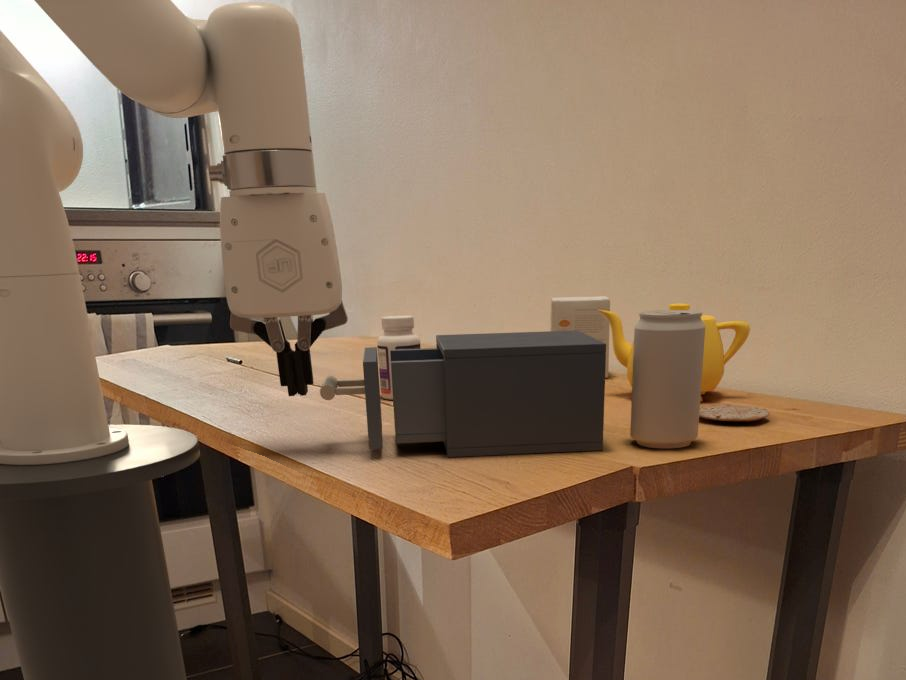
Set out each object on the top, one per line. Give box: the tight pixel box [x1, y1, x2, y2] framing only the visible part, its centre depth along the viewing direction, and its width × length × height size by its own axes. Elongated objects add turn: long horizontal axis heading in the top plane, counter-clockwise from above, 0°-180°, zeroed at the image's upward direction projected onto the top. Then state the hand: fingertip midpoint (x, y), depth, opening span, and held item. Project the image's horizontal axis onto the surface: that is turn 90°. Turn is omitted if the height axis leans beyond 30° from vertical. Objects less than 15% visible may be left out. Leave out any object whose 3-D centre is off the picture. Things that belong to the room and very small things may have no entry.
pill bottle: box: [376, 315, 422, 401], centre depth 114 cm, size 5×5×10 cm
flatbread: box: [699, 403, 771, 422], centre depth 97 cm, size 8×8×1 cm
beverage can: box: [629, 309, 705, 449], centre depth 84 cm, size 6×6×12 cm
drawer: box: [319, 346, 447, 450], centre depth 87 cm, size 18×11×8 cm, turn 96°
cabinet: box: [435, 330, 606, 458], centre depth 88 cm, size 15×13×10 cm
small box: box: [549, 295, 611, 379], centre depth 126 cm, size 8×6×10 cm
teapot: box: [598, 302, 751, 402], centre depth 109 cm, size 18×11×11 cm, turn 74°
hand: (298, 393), depth 86 cm, fingers closed
